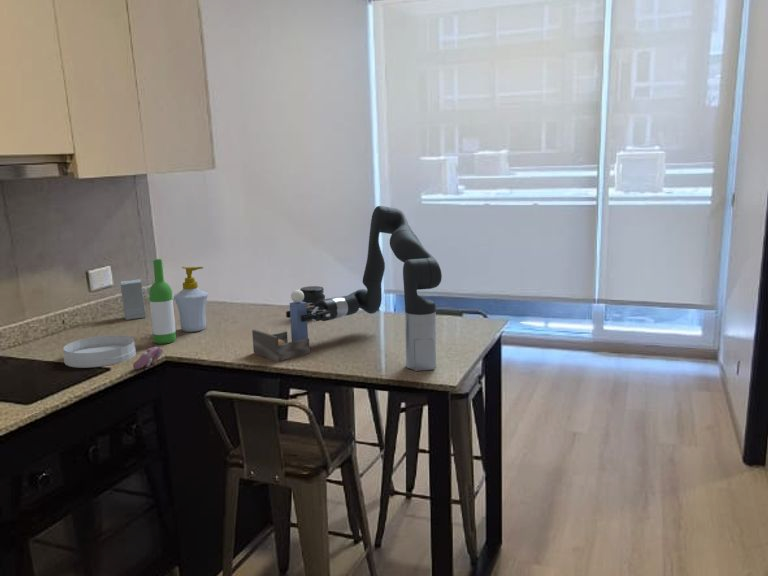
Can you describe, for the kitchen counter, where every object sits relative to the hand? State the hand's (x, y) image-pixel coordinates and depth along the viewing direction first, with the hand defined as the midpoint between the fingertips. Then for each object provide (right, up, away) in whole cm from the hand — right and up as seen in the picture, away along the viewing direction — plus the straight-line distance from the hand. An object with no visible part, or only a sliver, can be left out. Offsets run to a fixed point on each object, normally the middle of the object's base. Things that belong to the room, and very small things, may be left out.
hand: (293, 316), depth 215 cm
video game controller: (-45, -15, -11) cm, 48 cm away
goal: (-3, -12, -1) cm, 13 cm away
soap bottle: (-43, -7, +33) cm, 55 cm away
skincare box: (-75, -3, +55) cm, 93 cm away
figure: (+2, -11, +4) cm, 12 cm away
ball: (-6, -12, -4) cm, 14 cm away
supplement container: (+1, -2, +49) cm, 49 cm away
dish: (-64, -14, -1) cm, 66 cm away
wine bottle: (-49, -10, +16) cm, 53 cm away
